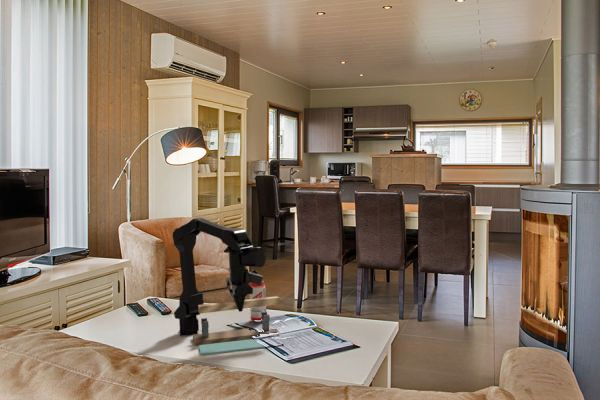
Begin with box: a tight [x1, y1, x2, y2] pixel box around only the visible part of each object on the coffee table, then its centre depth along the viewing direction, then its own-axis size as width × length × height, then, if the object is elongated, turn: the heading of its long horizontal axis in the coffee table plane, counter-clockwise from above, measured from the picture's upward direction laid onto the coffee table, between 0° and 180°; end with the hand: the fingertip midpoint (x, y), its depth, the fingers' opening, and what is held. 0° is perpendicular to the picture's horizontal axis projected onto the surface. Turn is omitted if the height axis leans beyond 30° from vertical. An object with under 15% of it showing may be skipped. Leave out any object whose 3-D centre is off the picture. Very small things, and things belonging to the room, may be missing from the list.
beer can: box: [249, 280, 267, 322], centre depth 212 cm, size 6×6×16 cm
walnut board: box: [192, 328, 280, 346], centre depth 192 cm, size 30×8×2 cm, turn 106°
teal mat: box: [198, 339, 265, 356], centre depth 182 cm, size 28×9×1 cm, turn 106°
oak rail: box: [198, 295, 281, 315], centre depth 184 cm, size 28×2×2 cm, turn 107°
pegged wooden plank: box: [200, 311, 271, 338], centre depth 192 cm, size 24×5×6 cm, turn 106°
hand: (239, 310), depth 184 cm, fingers closed on oak rail, 2 cm apart
